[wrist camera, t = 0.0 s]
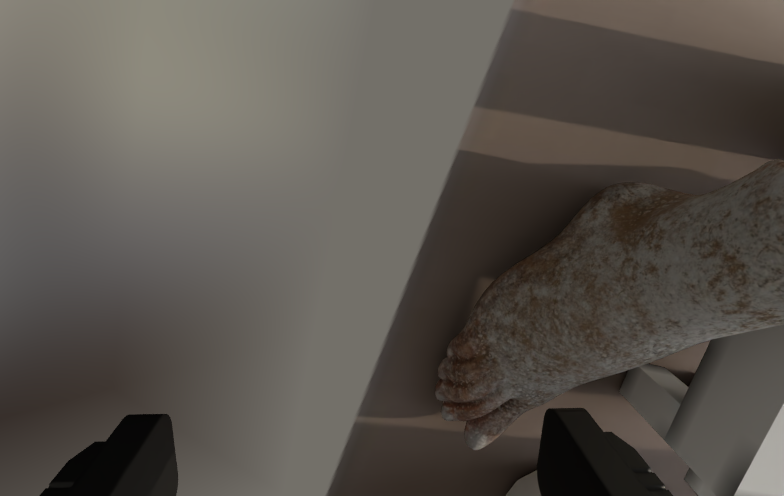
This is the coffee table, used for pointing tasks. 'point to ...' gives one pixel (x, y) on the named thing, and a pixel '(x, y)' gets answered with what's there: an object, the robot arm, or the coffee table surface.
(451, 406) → the sculpture
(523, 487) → the white faceted rounded piece
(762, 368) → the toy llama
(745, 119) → the coffee table surface
